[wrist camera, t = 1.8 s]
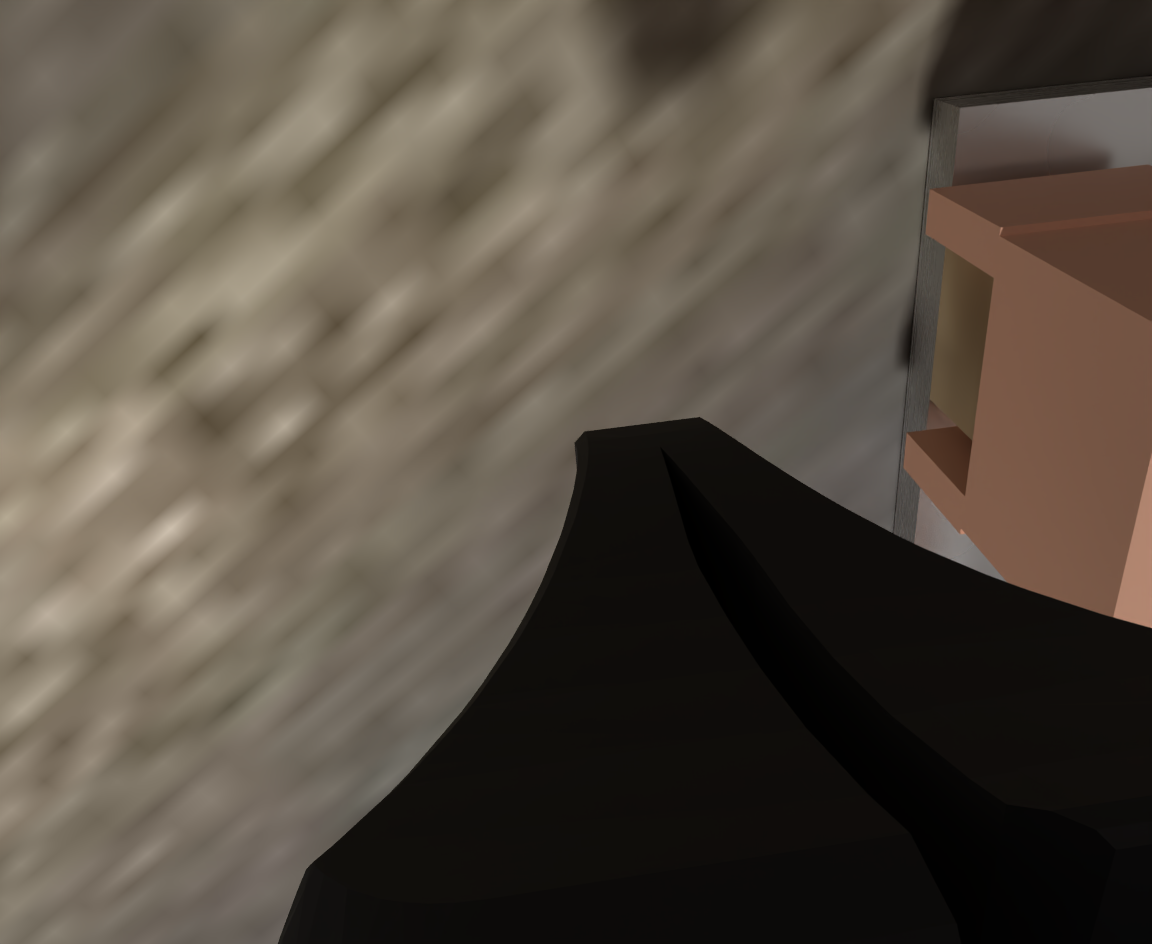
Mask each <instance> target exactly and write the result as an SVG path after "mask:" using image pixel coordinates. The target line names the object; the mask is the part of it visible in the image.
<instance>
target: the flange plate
mask: <svg viewBox="0 0 1152 944" xmlns="http://www.w3.org/2000/svg"><path fill="white" fill-rule="evenodd" d="M1147 164H1148V165H1151V166H1152V76H1143V77H1133V78H1124V79H1114V80H1105V81H1095V82H1086V83H1076V84H1067V85H1057V86H1048V87H1039V88H1029V89H1020V90H1010V91H1001V92H991V93H982V94H972V95H963V96H953V97H944V98H934V103H933V114H932V124H931V135H930V146H929V157H928V167H927V178H926V189H925V200H924V211H923V221H922V232H921V243H920V254H919V264H918V275H917V286H916V297H915V307H914V318H913V329H912V340H911V351H910V361H909V372H908V383H907V394H906V404H905V415H904V426H903V437H902V447H901V458H900V469H899V480H898V490H897V501H896V512H895V523H894V534H895V535H897V536H899V537H901V538H903V539H906V540H908V541H910V542H912V543H914V544H916V545H918V546H920V547H923V548H925V549H927V550H929V551H932V552H934V553H937V554H939V555H941V556H944V557H946V558H948V559H951V560H953V561H955V562H958V563H960V564H963V565H965V566H967V567H970V568H972V569H974V570H977V571H979V572H981V573H984V574H986V575H989V576H992V577H994V578H997V579H1000V580H1002V581H1005V582H1006V580H1005V579H1004V578H1003V577H1002V576H1001V575H1000V573H999V572H998V571H997V570H996V569H995V568H994V566H993V565H992V564H991V563H990V562H989V561H988V559H987V558H986V557H985V556H984V555H983V554H982V552H981V551H980V550H979V549H978V548H977V547H976V545H975V544H974V543H973V542H972V541H971V540H970V538H969V537H968V536H967V535H966V534H959V533H958V532H957V530H956V529H955V528H954V527H953V526H952V524H951V523H950V522H949V521H948V520H947V519H946V517H945V516H944V515H943V514H942V513H941V512H940V510H939V509H938V508H937V507H936V506H935V504H934V503H933V502H932V501H931V500H930V499H929V497H928V496H927V495H926V494H925V493H924V491H923V490H922V489H921V488H920V487H919V486H918V484H917V483H916V482H915V481H914V480H913V478H912V477H911V476H910V475H909V474H908V473H907V471H906V470H905V469H904V468H903V465H904V455H905V444H906V434H907V432H914V431H922V430H930V429H938V428H946V427H953V426H957V425H956V424H955V423H954V422H953V421H952V420H951V419H950V418H949V417H947V416H946V415H945V414H944V413H943V412H942V411H941V410H940V409H939V408H938V407H937V406H936V405H935V404H934V403H933V402H932V401H931V400H930V390H931V380H932V371H933V362H934V352H935V343H936V333H937V324H938V314H939V305H940V295H941V286H942V276H943V267H944V257H945V248H946V247H945V246H943V245H942V244H940V243H939V242H937V241H936V240H934V239H933V238H931V237H929V236H928V235H926V234H925V233H926V223H927V212H928V202H929V191H930V189H933V188H941V187H950V186H959V185H968V184H977V183H986V182H995V181H1004V180H1013V179H1022V178H1031V177H1040V176H1049V175H1058V174H1067V173H1076V172H1085V171H1094V170H1103V169H1112V168H1121V167H1130V166H1138V165H1147Z"/></svg>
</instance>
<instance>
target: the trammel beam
mask: <svg viewBox="0 0 1152 944" xmlns="http://www.w3.org/2000/svg"><path fill="white" fill-rule="evenodd" d="M993 281H994V278H993V277H992V276H990V275H988V274H987V273H985V272H984V271H982V270H981V269H979V268H978V267H976V266H974V265H973V264H971V263H970V262H968V261H967V260H965V259H964V258H962V257H961V256H959V255H957V254H956V253H954V252H953V251H951V250H950V249H948V248H947V247H946V248H945V257H944V267H943V276H942V286H941V295H940V305H939V314H938V324H937V333H936V343H935V352H934V362H933V371H932V380H931V390H930V400H931V401H932V402H933V403H934V404H935V405H936V406H937V407H938V408H939V409H940V410H941V411H942V412H943V413H944V414H945V415H946V416H947V417H949V418H950V419H951V420H952V421H953V422H954V423H955V424H956V425H957V426H958V427H959V428H960V429H961V430H962V431H963V432H964V433H965V434H966V435H967V436H968V437H969V438H970V439H971V440H973V432H974V425H975V417H976V410H977V402H978V395H979V387H980V379H981V372H982V364H983V357H984V349H985V342H986V334H987V326H988V319H989V311H990V304H991V296H992V289H993Z"/></svg>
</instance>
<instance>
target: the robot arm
mask: <svg viewBox="0 0 1152 944" xmlns="http://www.w3.org/2000/svg"><path fill="white" fill-rule="evenodd" d="M575 452H576V464H577V474H576V479H575V485H574V490H573V495H572V498H571V502H570V505H569V509H568V513H567V516H566V520H565V523H564V527H563V530H562V533H561V536H560V539H559V541H558V543H557V546H556V548H555V551H554V553H553V556H552V558H551V561H550V563H549V566H548V568H547V571H546V573H545V576H544V578H543V580H542V583H541V585H540V587H539V589H538V591H537V593H536V595H535V597H534V599H533V601H532V603H531V605H530V607H529V609H528V611H527V613H526V615H525V616H524V618H523V620H522V622H521V624H520V625H519V627H518V629H517V631H516V632H515V634H514V636H513V638H512V639H511V641H510V643H509V644H508V646H507V647H506V649H505V650H504V652H503V653H502V655H501V656H500V658H499V659H498V661H497V662H496V664H495V666H494V667H493V669H492V670H491V672H490V673H489V675H488V676H487V678H486V679H485V681H484V682H483V684H482V685H481V686H480V688H479V689H478V691H477V692H476V693H475V695H474V696H473V697H472V699H471V700H470V701H469V703H468V704H467V705H466V707H465V708H464V709H463V711H462V712H461V713H460V714H459V715H458V717H457V718H456V719H455V720H454V721H453V722H452V724H451V725H450V726H449V727H448V728H447V729H446V731H445V732H444V733H443V734H442V735H441V736H440V738H439V739H438V740H437V741H436V742H435V743H434V745H433V746H432V747H431V748H430V749H429V750H428V752H427V753H426V754H425V755H424V756H423V757H422V759H421V760H420V761H419V762H418V763H417V764H416V766H415V767H414V768H413V769H412V770H411V771H410V773H409V774H408V775H407V776H406V777H405V778H404V779H403V780H402V781H401V782H400V783H399V784H398V785H397V786H396V787H395V788H394V789H393V790H392V791H391V792H390V793H389V794H388V795H387V796H386V797H385V798H384V799H383V800H382V801H381V802H380V803H379V804H377V805H376V806H375V807H374V808H373V809H372V810H371V811H370V812H369V813H368V814H367V815H366V816H364V817H363V818H362V819H361V820H360V821H359V822H358V823H357V824H356V825H355V826H354V827H353V828H351V829H350V830H349V831H348V832H347V833H346V834H345V835H344V836H343V837H342V838H341V839H340V840H338V841H337V842H336V843H335V844H334V845H333V846H332V847H331V848H329V849H328V850H327V851H326V852H325V853H323V854H322V855H321V856H320V857H319V858H318V859H316V860H315V861H314V862H313V863H312V864H311V865H310V866H309V867H308V868H307V869H306V871H305V874H304V876H303V878H302V881H301V883H300V886H299V888H298V891H297V893H296V896H295V899H294V901H293V904H292V907H291V909H290V912H289V915H288V917H287V920H286V923H285V925H284V928H283V931H282V933H281V936H280V939H279V942H278V944H1152V628H1150V627H1146V626H1143V625H1139V624H1135V623H1132V622H1128V621H1125V620H1121V619H1118V618H1114V617H1110V616H1107V615H1104V614H1100V613H1097V612H1094V611H1091V610H1088V609H1085V608H1082V607H1079V606H1076V605H1073V604H1069V603H1066V602H1063V601H1060V600H1057V599H1054V598H1051V597H1048V596H1045V595H1042V594H1039V593H1036V592H1033V591H1030V590H1027V589H1024V588H1021V587H1019V586H1016V585H1013V584H1010V583H1008V582H1005V581H1002V580H1000V579H997V578H994V577H992V576H989V575H986V574H984V573H981V572H979V571H977V570H974V569H972V568H970V567H967V566H965V565H963V564H960V563H958V562H955V561H953V560H951V559H948V558H946V557H944V556H941V555H939V554H937V553H934V552H932V551H929V550H927V549H925V548H923V547H920V546H918V545H916V544H914V543H912V542H910V541H908V540H906V539H903V538H901V537H899V536H897V535H895V534H893V533H891V532H889V531H887V530H885V529H884V528H882V527H880V526H878V525H876V524H874V523H872V522H870V521H868V520H867V519H865V518H863V517H861V516H859V515H857V514H855V513H853V512H851V511H850V510H848V509H846V508H844V507H842V506H841V505H839V504H837V503H835V502H834V501H832V500H830V499H828V498H827V497H825V496H823V495H821V494H820V493H818V492H816V491H815V490H813V489H811V488H810V487H808V486H806V485H805V484H803V483H802V482H800V481H798V480H797V479H795V478H794V477H792V476H790V475H789V474H787V473H786V472H784V471H782V470H781V469H779V468H778V467H776V466H775V465H773V464H772V463H770V462H768V461H767V460H765V459H764V458H762V457H761V456H759V455H758V454H756V453H755V452H753V451H752V450H750V449H749V448H747V447H746V446H744V445H743V444H741V443H740V442H738V441H737V440H735V439H734V438H732V437H731V436H729V435H728V434H726V433H725V432H723V431H722V430H720V429H719V428H717V427H716V426H714V425H712V424H711V423H709V422H707V421H706V420H704V419H702V418H700V417H697V418H689V419H681V420H673V421H665V422H657V423H649V424H641V425H633V426H625V427H617V428H610V429H602V430H594V431H586V432H584V433H583V434H582V435H581V436H580V437H579V439H578V440H577V441H576V442H575Z"/></svg>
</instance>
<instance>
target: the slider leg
mask: <svg viewBox="0 0 1152 944" xmlns="http://www.w3.org/2000/svg"><path fill="white" fill-rule="evenodd" d="M925 234H926V235H928V236H929V237H931V238H933V239H934V240H936V241H937V242H939V243H940V244H942V245H943V246H945V247H947V248H948V249H950V250H951V251H953V252H954V253H956V254H957V255H959V256H961V257H962V258H964V259H965V260H967V261H968V262H970V263H971V264H973V265H974V266H976V267H978V268H979V269H981V270H982V271H984V272H985V273H987V274H988V275H990V276H992V277H993V278H994V281H993V289H992V296H991V304H990V311H989V319H988V326H987V334H986V342H985V349H984V357H983V364H982V372H981V379H980V387H979V395H978V402H977V410H976V417H975V425H974V432H973V440H971V439H970V438H969V437H968V436H967V435H966V434H965V433H964V432H963V431H962V430H961V429H960V428H959V427H958V426H953V427H946V428H938V429H930V430H922V431H914V432H907V434H906V444H905V455H904V465H903V468H904V469H905V470H906V471H907V473H908V474H909V475H910V476H911V477H912V478H913V480H914V481H915V482H916V483H917V484H918V486H919V487H920V488H921V489H922V490H923V491H924V493H925V494H926V495H927V496H928V497H929V499H930V500H931V501H932V502H933V503H934V504H935V506H936V507H937V508H938V509H939V510H940V512H941V513H942V514H943V515H944V516H945V517H946V519H947V520H948V521H949V522H950V523H951V524H952V526H953V527H954V528H955V529H956V530H957V532H958V533H959V534H966V535H967V536H968V537H969V538H970V540H971V541H972V542H973V543H974V544H975V545H976V547H977V548H978V549H979V550H980V551H981V552H982V554H983V555H984V556H985V557H986V558H987V559H988V561H989V562H990V563H991V564H992V565H993V566H994V568H995V569H996V570H997V571H998V572H999V573H1000V575H1001V576H1002V577H1003V578H1004V579H1005V580H1006V582H1008V583H1010V584H1013V585H1016V586H1019V587H1021V588H1024V589H1027V590H1030V591H1033V592H1036V593H1039V594H1042V595H1045V596H1048V597H1051V598H1054V599H1057V600H1060V601H1063V602H1066V603H1069V604H1073V605H1076V606H1079V607H1082V608H1085V609H1088V610H1091V611H1094V612H1097V613H1100V614H1104V615H1107V616H1110V617H1114V618H1118V619H1121V620H1125V621H1128V622H1132V623H1135V624H1139V625H1143V626H1146V627H1150V628H1152V166H1151V165H1148V164H1147V165H1138V166H1130V167H1121V168H1112V169H1103V170H1094V171H1085V172H1076V173H1067V174H1058V175H1049V176H1040V177H1031V178H1022V179H1013V180H1004V181H995V182H986V183H977V184H968V185H959V186H950V187H941V188H933V189H930V191H929V202H928V212H927V223H926V233H925Z"/></svg>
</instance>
